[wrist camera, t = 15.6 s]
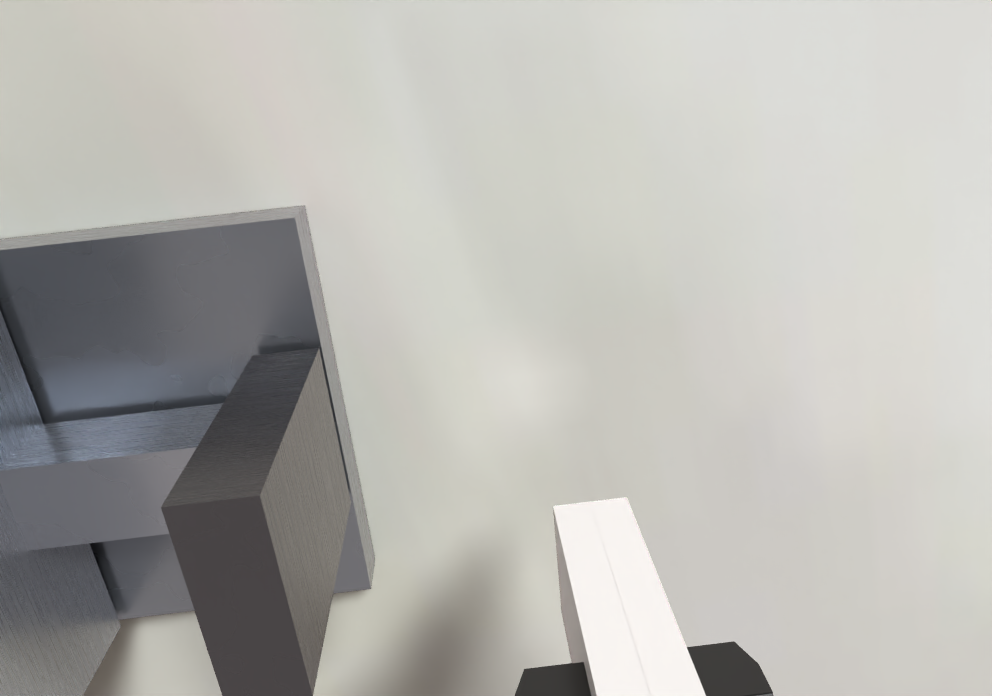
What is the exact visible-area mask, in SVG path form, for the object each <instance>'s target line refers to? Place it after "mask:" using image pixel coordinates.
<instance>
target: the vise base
mask: <svg viewBox="0 0 992 696" xmlns="http://www.w3.org/2000/svg"><path fill="white" fill-rule="evenodd" d="M0 311H1V314H2V316H3V319H4V321H5V324H6V327H7V329H8V332H9V335H10V337H11V340H12V342H13V345H14V348H15V350H16V353H17V355H18V358H19V361H20V363H21V366H22V369H23V371H24V374H25V376H26V379H27V382H28V384H29V387H30V389H31V392H32V395H33V397H34V400H35V402H36V405H37V408H38V410H39V413H40V416H41V418H42V421H43V423H44V424H48V423H57V422H65V421H74V420H82V419H91V418H100V417H108V416H117V415H125V414H134V413H143V412H151V411H160V410H168V409H177V408H186V407H194V406H203V405H211V404H220V403H224V402H225V400H226V398H227V397H228V395H229V393H230V392H231V390H232V388H233V387H234V385H235V383H236V382H237V380H238V378H239V377H240V375H241V373H242V372H243V370H244V368H245V367H246V365H247V363H248V362H249V360H250V358H251V357H252V356H253V355H262V354H270V353H279V352H288V351H296V350H305V349H314V348H319V350H320V355H321V360H322V365H323V370H324V374H325V379H326V384H327V389H328V394H329V399H330V403H331V408H332V413H333V418H334V423H335V428H336V432H337V437H338V442H339V447H340V452H341V457H342V461H343V466H344V471H345V476H346V481H347V485H348V490H349V495H350V500H351V505H350V510H349V515H348V520H347V526H346V531H345V536H344V541H343V546H342V551H341V556H340V561H339V566H338V571H337V576H336V581H335V586H334V591H333V593H341V592H349V591H357V590H365V589H371V586H372V578H373V571H374V563H375V555H374V550H373V545H372V540H371V535H370V530H369V525H368V520H367V515H366V510H365V505H364V500H363V495H362V490H361V485H360V480H359V475H358V470H357V465H356V460H355V455H354V450H353V445H352V440H351V435H350V430H349V425H348V420H347V415H346V410H345V405H344V400H343V395H342V390H341V385H340V380H339V375H338V369H337V364H336V359H335V354H334V349H333V344H332V339H331V334H330V329H329V324H328V319H327V314H326V309H325V304H324V299H323V294H322V289H321V284H320V279H319V274H318V269H317V264H316V259H315V254H314V249H313V244H312V239H311V234H310V229H309V224H308V219H307V214H306V209H305V206H296V207H287V208H278V209H269V210H260V211H250V212H241V213H232V214H223V215H214V216H205V217H196V218H187V219H178V220H169V221H160V222H151V223H141V224H132V225H123V226H114V227H105V228H96V229H87V230H78V231H69V232H60V233H51V234H42V235H32V236H23V237H14V238H5V239H0ZM89 544H90V546H91V549H92V551H93V554H94V557H95V559H96V562H97V564H98V567H99V570H100V572H101V575H102V578H103V580H104V583H105V585H106V588H107V591H108V593H109V596H110V598H111V601H112V604H113V606H114V609H115V611H116V614H117V617H118V619H119V620H121V619H129V618H138V617H146V616H154V615H162V614H170V613H178V612H186V611H195V610H194V607H193V604H192V601H191V598H190V595H189V592H188V589H187V586H186V583H185V580H184V577H183V573H182V570H181V567H180V564H179V561H178V558H177V555H176V552H175V549H174V546H173V543H172V540H171V537H170V534H163V535H154V536H146V537H138V538H130V539H121V540H113V541H105V542H96V543H89Z"/></svg>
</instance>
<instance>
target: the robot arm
mask: <svg viewBox="0 0 992 696" xmlns="http://www.w3.org/2000/svg"><path fill="white" fill-rule="evenodd" d="M553 512H554V524H555V537H556V549H557V562H558V574H559V586H560V599H561V611H562V617H563V622H564V627H565V632H566V637H567V642H568V646H569V651H570V656H571V661H572V663H570V664H562V665H554V666H546V667H538V668H530V669H524V672H523V674H522V677H521V680H520V683H519V685H518V688H517V691H516V694H515V696H773V692H772V690H771V688H770V686H769V684H768V682H767V680H766V678H765V676H764V674H763V672H762V670H761V668H760V666H759V664H758V663H757V662H756V661H755V660H754V659H752V658H751V657H750V656H749V655H748V654H747V653H746V652H745V651H744V650H743V649H742V648H741V647H739V646H738V645H737V644H736V643H735V642H727V643H719V644H710V645H702V646H694V647H686V644H685V642H684V639H683V637H682V634H681V632H680V629H679V627H678V624H677V622H676V619H675V617H674V614H673V612H672V609H671V607H670V604H669V602H668V599H667V597H666V594H665V592H664V589H663V587H662V584H661V582H660V579H659V577H658V574H657V572H656V569H655V567H654V564H653V562H652V559H651V557H650V554H649V552H648V549H647V547H646V544H645V542H644V539H643V537H642V534H641V532H640V529H639V527H638V524H637V522H636V519H635V517H634V514H633V512H632V509H631V507H630V504H629V502H628V499H627V497H624V498H616V499H608V500H599V501H591V502H582V503H574V504H565V505H557V506H553Z"/></svg>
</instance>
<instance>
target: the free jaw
mask: <svg viewBox="0 0 992 696" xmlns="http://www.w3.org/2000/svg"><path fill="white" fill-rule="evenodd" d="M350 505H351V500H350V495H349V490H348V485H347V481H346V476H345V471H344V466H343V461H342V457H341V452H340V447H339V442H338V437H337V432H336V428H335V423H334V418H333V413H332V408H331V403H330V399H329V394H328V389H327V384H326V379H325V374H324V370H323V365H322V360H321V355H320V350H319V348H314V349H305V350H296V351H288V352H279V353H270V354H262V355H253V356H252V357H251V358H250V360H249V362H248V363H247V365H246V367H245V368H244V370H243V372H242V373H241V375H240V377H239V378H238V380H237V382H236V383H235V385H234V387H233V388H232V390H231V392H230V393H229V395H228V397H227V398H226V400H225V402H224V403H220V404H211V405H203V406H194V407H186V408H177V409H168V410H160V411H151V412H143V413H134V414H125V415H117V416H108V417H100V418H91V419H82V420H74V421H65V422H57V423H48V424H44V423H43V421H42V418H41V416H40V413H39V410H38V408H37V405H36V402H35V400H34V397H33V395H32V392H31V389H30V387H29V384H28V382H27V379H26V376H25V374H24V371H23V369H22V366H21V363H20V361H19V358H18V355H17V353H16V350H15V348H14V345H13V342H12V340H11V337H10V335H9V332H8V329H7V327H6V324H5V321H4V319H3V316H2V314H1V311H0V696H83V695H84V693H85V691H86V689H87V687H88V685H89V684H90V682H91V680H92V678H93V676H94V674H95V673H96V671H97V669H98V667H99V665H100V664H101V662H102V660H103V658H104V656H105V654H106V653H107V651H108V649H109V647H110V645H111V643H112V642H113V640H114V638H115V636H116V634H117V633H118V631H119V629H120V627H121V625H120V622H119V619H118V617H117V614H116V611H115V609H114V606H113V604H112V601H111V598H110V596H109V593H108V591H107V588H106V585H105V583H104V580H103V578H102V575H101V572H100V570H99V567H98V564H97V562H96V559H95V557H94V554H93V551H92V549H91V546H90V544H89V543H96V542H105V541H113V540H121V539H130V538H138V537H146V536H154V535H163V534H170V537H171V540H172V543H173V546H174V549H175V552H176V555H177V558H178V561H179V564H180V567H181V570H182V573H183V577H184V580H185V583H186V586H187V589H188V592H189V595H190V598H191V601H192V604H193V607H194V610H195V613H196V616H197V619H198V622H199V625H200V628H201V631H202V634H203V637H204V640H205V643H206V646H207V650H208V653H209V656H210V659H211V662H212V665H213V668H214V671H215V674H216V677H217V680H218V683H219V686H220V689H221V692H222V695H223V696H313V692H314V687H315V682H316V677H317V672H318V667H319V662H320V657H321V652H322V647H323V642H324V637H325V632H326V627H327V622H328V617H329V612H330V606H331V601H332V596H333V591H334V586H335V581H336V576H337V571H338V566H339V561H340V556H341V551H342V546H343V541H344V536H345V531H346V526H347V520H348V515H349V510H350Z"/></svg>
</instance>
